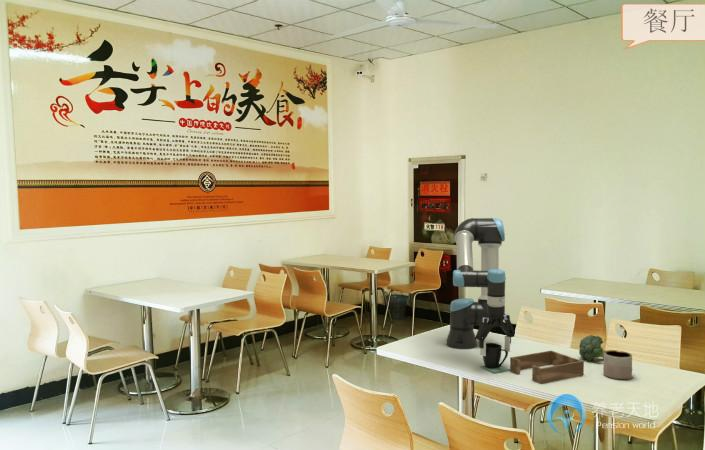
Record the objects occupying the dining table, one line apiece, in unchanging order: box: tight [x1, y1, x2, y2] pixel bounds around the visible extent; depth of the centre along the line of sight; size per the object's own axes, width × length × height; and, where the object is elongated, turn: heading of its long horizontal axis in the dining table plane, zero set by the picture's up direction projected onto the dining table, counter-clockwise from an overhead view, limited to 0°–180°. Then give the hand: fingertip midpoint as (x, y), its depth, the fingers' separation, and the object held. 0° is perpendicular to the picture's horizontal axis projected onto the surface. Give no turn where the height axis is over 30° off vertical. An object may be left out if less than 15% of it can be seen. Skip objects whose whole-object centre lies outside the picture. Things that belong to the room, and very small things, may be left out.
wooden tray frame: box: [509, 350, 585, 385], centre depth 235 cm, size 18×24×6 cm
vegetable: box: [578, 334, 607, 362], centre depth 254 cm, size 12×13×15 cm
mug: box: [482, 342, 509, 369], centre depth 240 cm, size 8×12×10 cm
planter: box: [602, 349, 633, 381], centre depth 231 cm, size 11×11×10 cm
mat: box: [479, 365, 511, 374], centre depth 240 cm, size 9×9×1 cm
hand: (495, 353), depth 241 cm, fingers open, 13 cm apart
